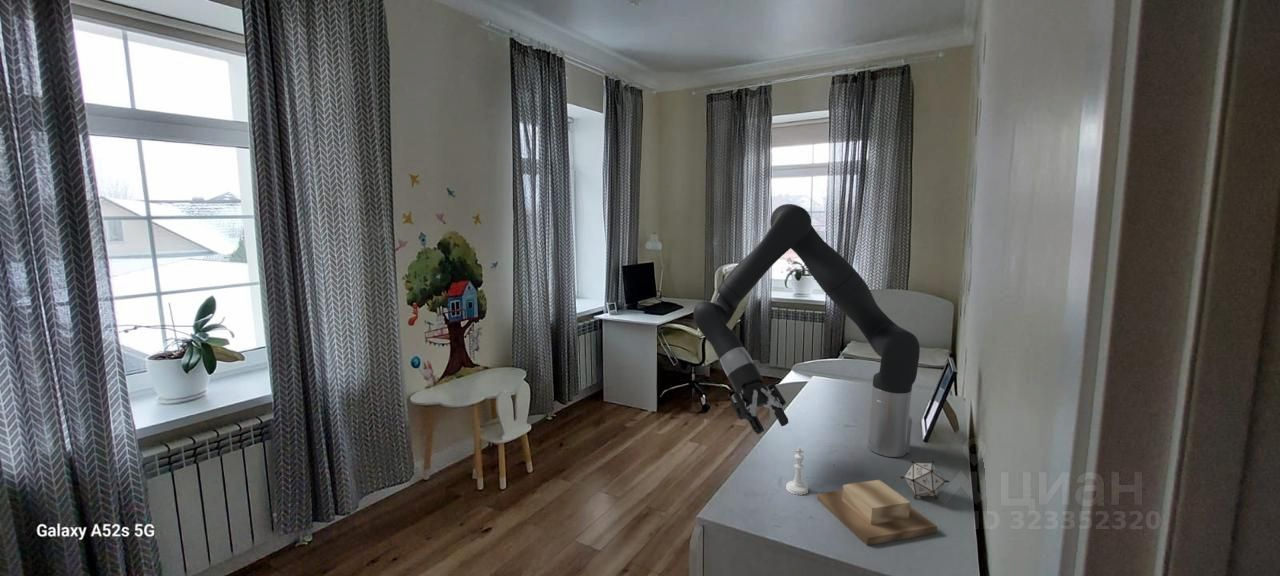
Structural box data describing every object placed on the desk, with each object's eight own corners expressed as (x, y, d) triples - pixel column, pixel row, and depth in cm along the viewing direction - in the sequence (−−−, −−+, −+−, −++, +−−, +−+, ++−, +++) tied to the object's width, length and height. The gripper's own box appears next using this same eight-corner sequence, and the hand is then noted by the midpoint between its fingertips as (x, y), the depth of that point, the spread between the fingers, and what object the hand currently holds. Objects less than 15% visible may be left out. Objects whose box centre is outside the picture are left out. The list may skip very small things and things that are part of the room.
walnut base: (879, 490, 117) (881, 470, 116) (936, 532, 102) (938, 509, 101) (817, 499, 113) (819, 478, 112) (866, 545, 98) (868, 521, 97)
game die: (928, 515, 114) (947, 497, 107) (891, 492, 118) (906, 473, 111) (940, 484, 119) (959, 465, 112) (903, 463, 123) (919, 443, 116)
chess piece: (809, 496, 115) (812, 453, 113) (786, 493, 116) (789, 451, 114) (807, 484, 119) (809, 444, 118) (785, 482, 120) (787, 441, 119)
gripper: (727, 366, 123) (761, 428, 116) (768, 357, 131) (802, 415, 124) (711, 381, 128) (743, 442, 121) (752, 372, 136) (784, 428, 129)
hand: (773, 428), depth 122 cm, fingers open, 8 cm apart
